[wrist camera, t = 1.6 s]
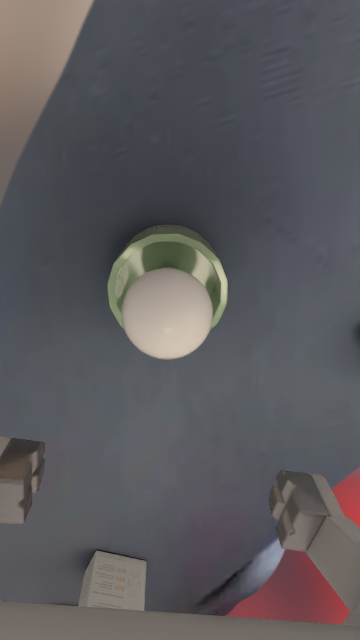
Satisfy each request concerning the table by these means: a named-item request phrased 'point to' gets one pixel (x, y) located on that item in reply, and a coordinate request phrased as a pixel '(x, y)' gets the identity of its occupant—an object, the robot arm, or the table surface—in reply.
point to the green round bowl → (168, 264)
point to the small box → (114, 582)
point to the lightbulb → (167, 313)
